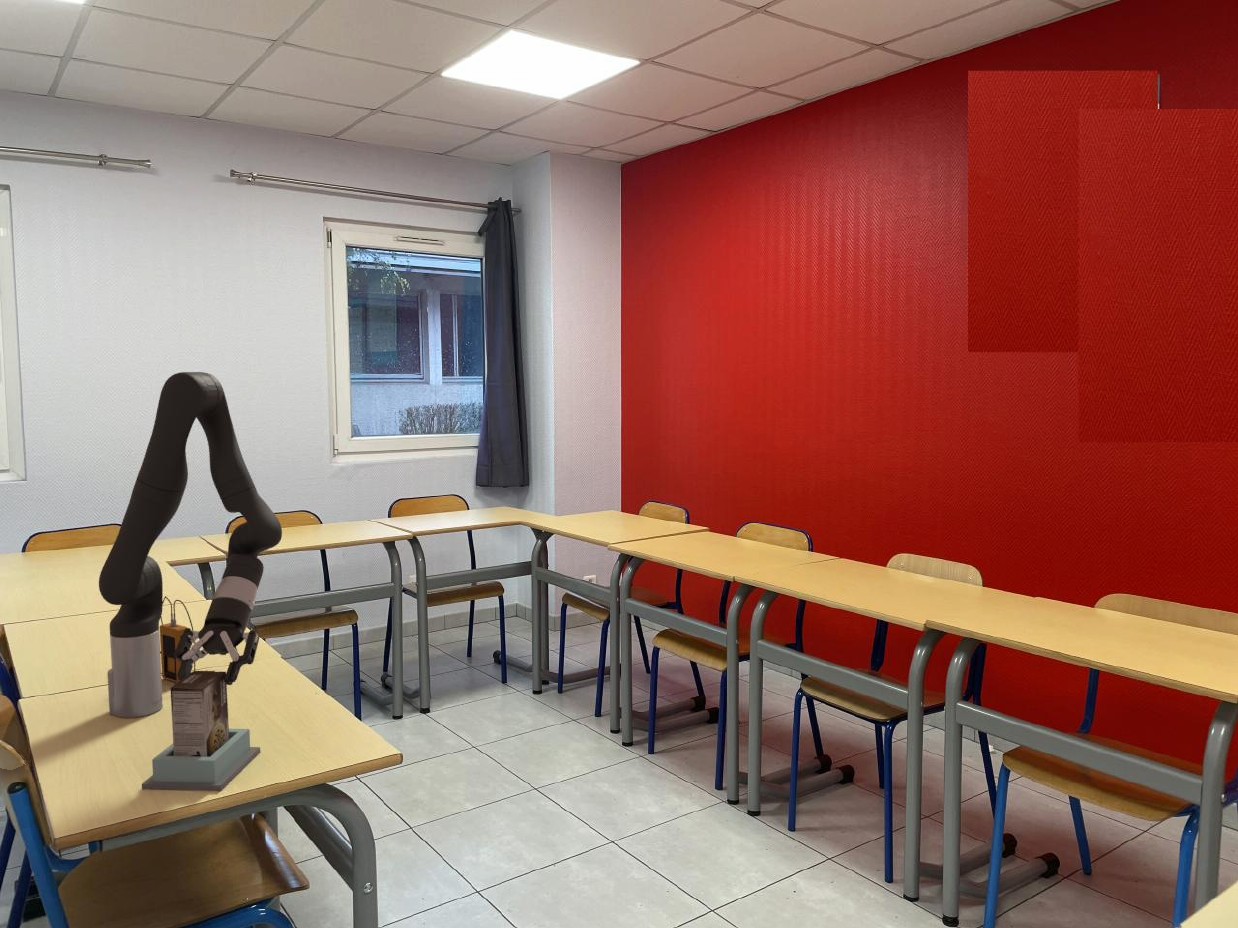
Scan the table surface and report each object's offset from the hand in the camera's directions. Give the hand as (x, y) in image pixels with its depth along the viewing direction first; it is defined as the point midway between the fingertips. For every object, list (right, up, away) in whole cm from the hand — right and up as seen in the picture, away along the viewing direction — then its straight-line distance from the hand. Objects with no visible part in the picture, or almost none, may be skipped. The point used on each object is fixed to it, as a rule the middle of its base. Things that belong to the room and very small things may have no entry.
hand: (205, 682), depth 166 cm
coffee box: (0, -15, -1) cm, 15 cm away
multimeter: (-26, -11, +50) cm, 57 cm away
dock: (0, -16, -1) cm, 16 cm away
